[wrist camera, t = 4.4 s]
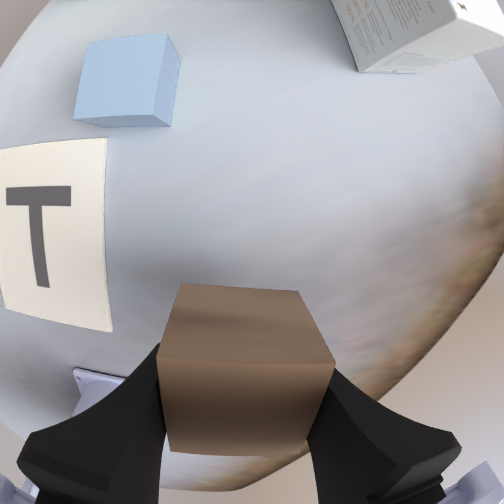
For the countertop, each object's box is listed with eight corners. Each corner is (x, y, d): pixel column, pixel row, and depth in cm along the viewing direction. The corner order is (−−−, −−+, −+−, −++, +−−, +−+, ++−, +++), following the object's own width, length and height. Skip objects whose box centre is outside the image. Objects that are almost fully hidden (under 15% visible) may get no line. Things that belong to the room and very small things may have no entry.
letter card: (113, 329, 19) (111, 332, 19) (8, 306, 18) (5, 308, 17) (107, 138, 15) (105, 138, 15) (-7, 151, 14) (-10, 151, 13)
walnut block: (279, 376, 14) (299, 453, 9) (182, 371, 13) (170, 451, 8) (297, 290, 12) (336, 363, 7) (181, 282, 12) (156, 356, 7)
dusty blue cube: (171, 126, 16) (152, 114, 11) (106, 127, 15) (73, 119, 11) (181, 62, 14) (167, 33, 10) (116, 65, 14) (89, 42, 9)
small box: (416, 75, 15) (519, 47, 5) (356, 74, 15) (460, 20, 5) (383, -7, 13) (456, -63, 3) (322, -13, 13) (380, -95, 3)
